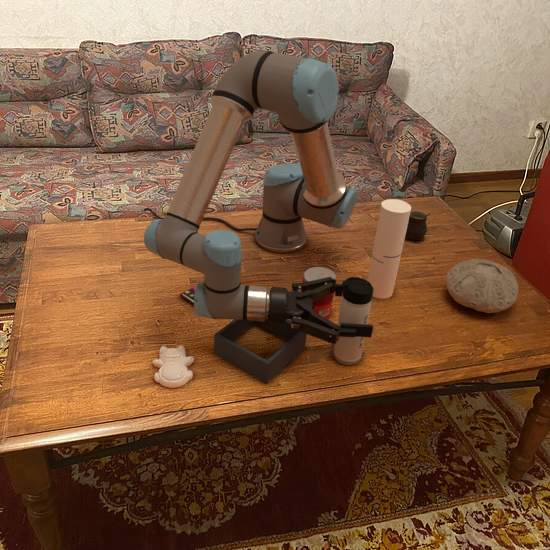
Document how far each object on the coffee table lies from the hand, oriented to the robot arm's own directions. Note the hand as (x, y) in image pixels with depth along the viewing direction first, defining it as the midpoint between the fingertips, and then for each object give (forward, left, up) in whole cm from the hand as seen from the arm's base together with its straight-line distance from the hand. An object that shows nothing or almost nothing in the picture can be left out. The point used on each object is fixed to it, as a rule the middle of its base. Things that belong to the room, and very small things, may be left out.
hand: (368, 310), depth 118 cm
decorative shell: (+13, +39, -13) cm, 44 cm away
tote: (-19, -13, -13) cm, 26 cm away
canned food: (-17, +7, -13) cm, 22 cm away
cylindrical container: (-9, +26, -13) cm, 31 cm away
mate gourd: (-14, +59, -13) cm, 62 cm away
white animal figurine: (-30, -29, -13) cm, 43 cm away
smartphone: (-42, -3, -13) cm, 44 cm away
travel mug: (-2, -2, -13) cm, 14 cm away
